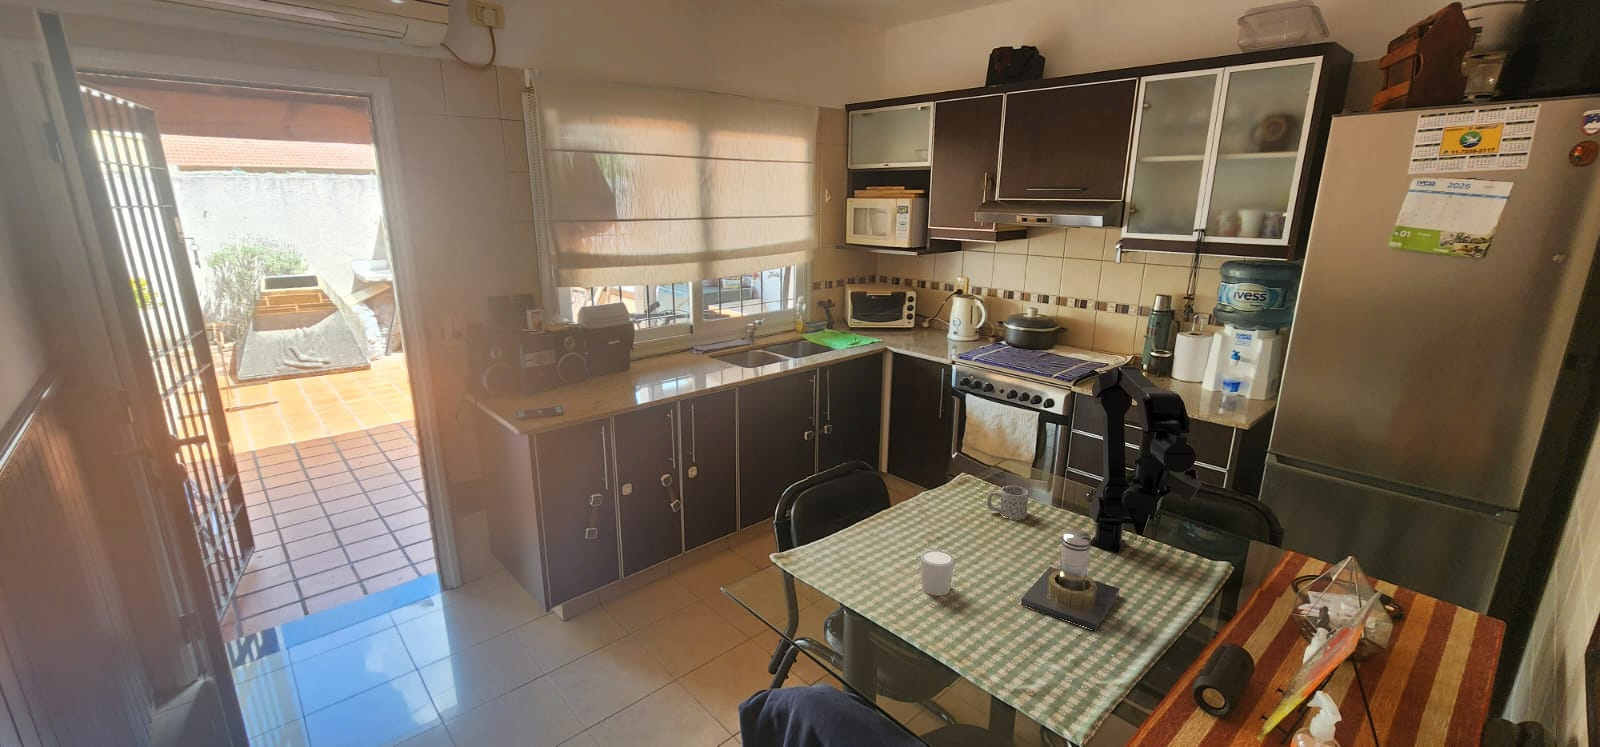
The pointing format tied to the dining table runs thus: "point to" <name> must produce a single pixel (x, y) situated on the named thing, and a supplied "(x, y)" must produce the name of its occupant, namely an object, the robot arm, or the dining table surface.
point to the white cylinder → (936, 571)
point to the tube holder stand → (1071, 600)
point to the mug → (1011, 502)
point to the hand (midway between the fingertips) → (1145, 526)
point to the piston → (1074, 560)
